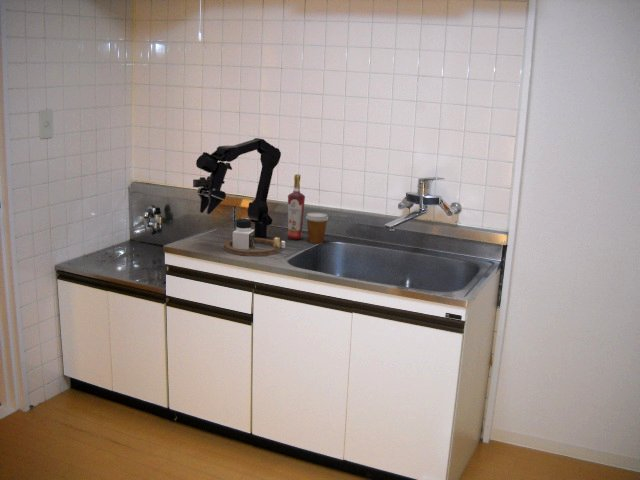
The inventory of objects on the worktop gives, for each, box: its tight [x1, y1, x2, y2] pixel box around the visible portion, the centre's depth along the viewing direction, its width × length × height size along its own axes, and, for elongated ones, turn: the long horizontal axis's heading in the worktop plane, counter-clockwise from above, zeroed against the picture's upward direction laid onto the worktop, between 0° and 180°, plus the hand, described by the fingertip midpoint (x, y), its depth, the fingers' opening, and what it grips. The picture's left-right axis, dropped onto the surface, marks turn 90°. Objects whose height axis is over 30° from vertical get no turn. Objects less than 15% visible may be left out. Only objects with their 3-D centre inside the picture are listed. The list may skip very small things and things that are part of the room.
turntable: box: [223, 236, 282, 257], centre depth 296 cm, size 23×23×6 cm
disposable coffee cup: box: [305, 211, 329, 245], centre depth 311 cm, size 10×10×12 cm
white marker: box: [280, 240, 286, 249], centre depth 300 cm, size 1×2×2 cm, turn 18°
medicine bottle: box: [231, 217, 255, 251], centre depth 296 cm, size 7×7×12 cm
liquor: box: [286, 173, 306, 241], centre depth 313 cm, size 7×7×28 cm
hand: (204, 213), depth 290 cm, fingers open, 9 cm apart
